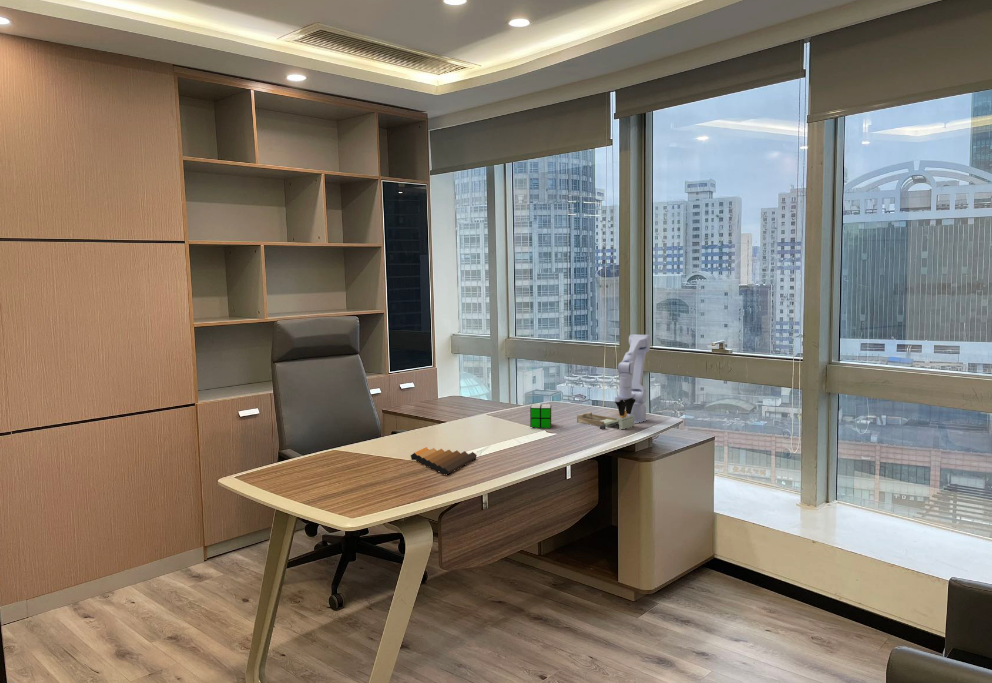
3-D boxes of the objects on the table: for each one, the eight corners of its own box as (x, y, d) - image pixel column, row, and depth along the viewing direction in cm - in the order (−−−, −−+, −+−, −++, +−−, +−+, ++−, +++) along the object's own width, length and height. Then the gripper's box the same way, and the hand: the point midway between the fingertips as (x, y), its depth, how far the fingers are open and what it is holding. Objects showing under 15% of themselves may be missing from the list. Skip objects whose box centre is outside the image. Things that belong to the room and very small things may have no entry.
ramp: (607, 421, 353) (607, 410, 353) (633, 426, 343) (634, 415, 342) (595, 425, 346) (595, 413, 346) (622, 429, 335) (622, 418, 335)
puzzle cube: (551, 424, 350) (551, 404, 349) (550, 428, 340) (550, 408, 339) (531, 423, 351) (531, 404, 350) (530, 428, 341) (530, 407, 340)
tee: (601, 427, 340) (601, 424, 340) (606, 428, 338) (606, 425, 338) (598, 428, 338) (598, 425, 338) (603, 429, 336) (603, 426, 336)
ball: (624, 418, 342) (620, 412, 344) (630, 413, 340) (625, 407, 342) (620, 420, 339) (615, 413, 341) (625, 414, 337) (620, 408, 339)
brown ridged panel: (448, 477, 262) (476, 460, 284) (448, 468, 261) (476, 452, 284) (390, 470, 271) (422, 454, 294) (390, 461, 271) (422, 446, 294)
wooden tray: (590, 418, 361) (590, 412, 361) (616, 423, 350) (616, 416, 350) (577, 422, 353) (577, 415, 353) (603, 426, 342) (603, 419, 342)
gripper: (626, 384, 346) (626, 411, 348) (609, 387, 336) (609, 415, 337) (639, 385, 341) (638, 413, 343) (622, 389, 331) (622, 417, 332)
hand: (625, 414), depth 340 cm, fingers open, 5 cm apart
